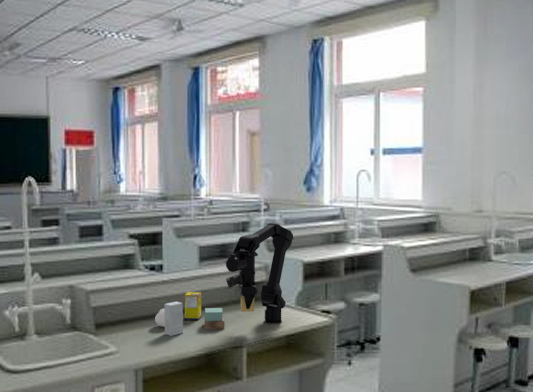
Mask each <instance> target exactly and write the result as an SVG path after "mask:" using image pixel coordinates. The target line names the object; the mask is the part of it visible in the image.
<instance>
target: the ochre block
mask: <svg viewBox="0 0 533 392" xmlns="http://www.w3.org/2000/svg"><path fill="white" fill-rule="evenodd" d="M240 311H241V312H244V313H245V312H246V313H247V312H255V298H254V299H253V301H252V304H251V306H250V308H249V309H246V303H245V298H244V296H243V295H241V296H240Z"/></svg>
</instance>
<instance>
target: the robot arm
mask: <svg viewBox="0 0 533 392" xmlns="http://www.w3.org/2000/svg"><path fill="white" fill-rule="evenodd" d="M269 238H271V239H272V241H271V242H272V246H273V248H274V250H273V256H272V259H271V260H272V261H271V265H270V270H269V276H268V280H267V282H266V284H264V285H262V287H261V292H260V301H261V305H262V307H265V309H264V321H265V322H266V323H267V324H275V323H278V324H280V323H283V321H282V309H284V308H285V307H286V300H285V299H284V298H283V295H282V293H283V291H282V288H281V285H280V283H281V279H282V274H283V273H282V272H283V268H284V264H285V258H286V252H287V251H288V250H289V248H290V247H291V246H292V243H293V240H294V234H293V232H292V231H291V230H289V229H287V228H285V227H283V226H282V225H280V224H279V223H277V222H275V223H274V222H269V223H268V224H266V225H265V226H264V227H262V228H261V229H259V230H257V231H255V232H253V233H251V234H245V235H242V236H240V237H239V238H238V240H237V242H236V245H235V247H234V250H233V251H232V253H230V254H229V257H228V258H227V260H226V262H225V266H226V269H227V271H228V272H231V273H234V272H235V273H236V272H238V274H234V275H231V276H229V277H226V278H225V281H226V284H227V286H228V288H233V287H234V286H237V285H238V286H239V290H240V295H241V296H244V298H245V303H246V309H249V308H250V306H251V304H252V301H253V299H254V300H255V297H256V295H258V288H257V286H256V281H255V280H256V279H255V278H256V277H255V276H256V257H258V256H259V254H258V253H257V252H256V251H257V250H258V249H259V248H260V247H261V246H260V245H261V244H262V243H263V242H265V241H266V240H268V239H269Z"/></svg>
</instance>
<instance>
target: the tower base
mask: <svg viewBox="0 0 533 392" xmlns="http://www.w3.org/2000/svg"><path fill="white" fill-rule="evenodd" d="M224 329H225V315H223V321H205V320H204V330H224Z"/></svg>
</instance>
